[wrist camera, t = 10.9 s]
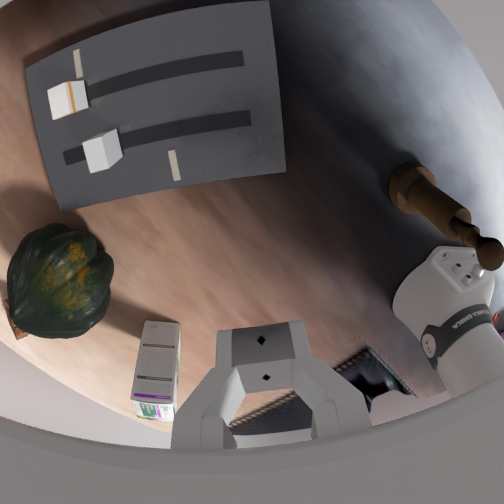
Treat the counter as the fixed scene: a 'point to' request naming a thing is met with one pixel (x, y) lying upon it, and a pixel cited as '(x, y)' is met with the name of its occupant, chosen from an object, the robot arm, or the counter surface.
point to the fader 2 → (102, 150)
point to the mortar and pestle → (441, 212)
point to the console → (165, 104)
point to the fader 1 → (67, 98)
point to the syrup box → (157, 371)
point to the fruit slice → (16, 331)
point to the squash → (58, 283)
